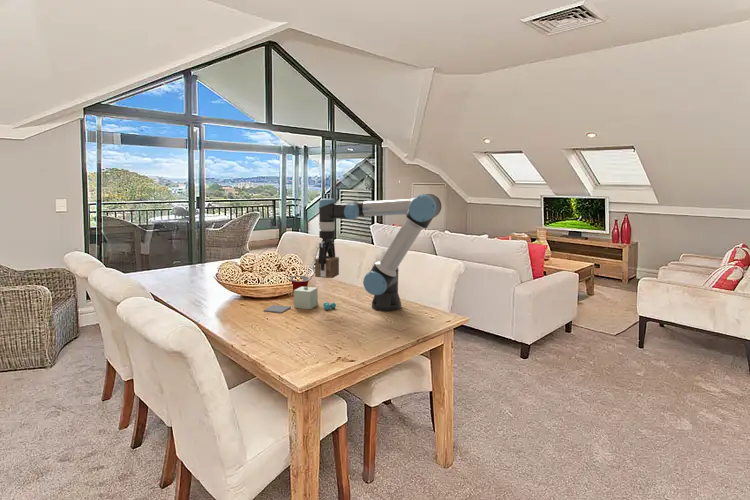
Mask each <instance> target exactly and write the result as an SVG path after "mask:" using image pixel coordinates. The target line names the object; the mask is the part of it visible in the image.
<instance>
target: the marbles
mask: <svg viewBox="0 0 750 500" xmlns="http://www.w3.org/2000/svg"><path fill="white" fill-rule="evenodd" d="M323 307H324V309H325V310H327V311H329V310H330V309H336V307H337V304H336V303H335V302H331V303H330V302H328V301H325V302H323Z"/></svg>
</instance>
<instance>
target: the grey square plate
mask: <svg viewBox="0 0 750 500" xmlns="http://www.w3.org/2000/svg"><path fill="white" fill-rule="evenodd" d="M291 308H292V306H291V305H290V306H289V305H279V304H278V305H277V304H272V305H271V306H269V307H267V308H265V309H263V312H268V313H269V312H270V313H277V314H278V313H279V314H282V313H284V312H286V311H287V310H290V309H291Z"/></svg>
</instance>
